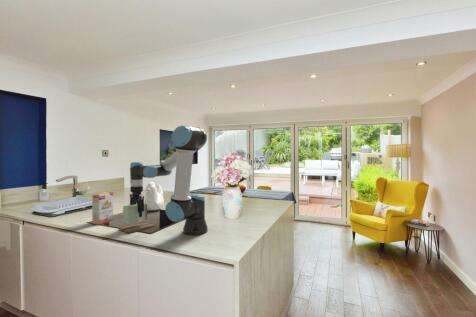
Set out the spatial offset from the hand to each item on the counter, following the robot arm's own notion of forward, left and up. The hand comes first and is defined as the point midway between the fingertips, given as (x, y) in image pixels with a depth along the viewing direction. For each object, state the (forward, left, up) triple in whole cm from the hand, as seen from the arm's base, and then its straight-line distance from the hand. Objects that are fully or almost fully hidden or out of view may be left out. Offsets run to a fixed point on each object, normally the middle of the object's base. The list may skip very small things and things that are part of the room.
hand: (137, 220), depth 158 cm
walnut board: (0, 0, -5) cm, 5 cm away
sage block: (0, +8, +6) cm, 9 cm away
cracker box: (+33, +7, -5) cm, 34 cm away
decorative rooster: (+37, -39, -5) cm, 54 cm away
